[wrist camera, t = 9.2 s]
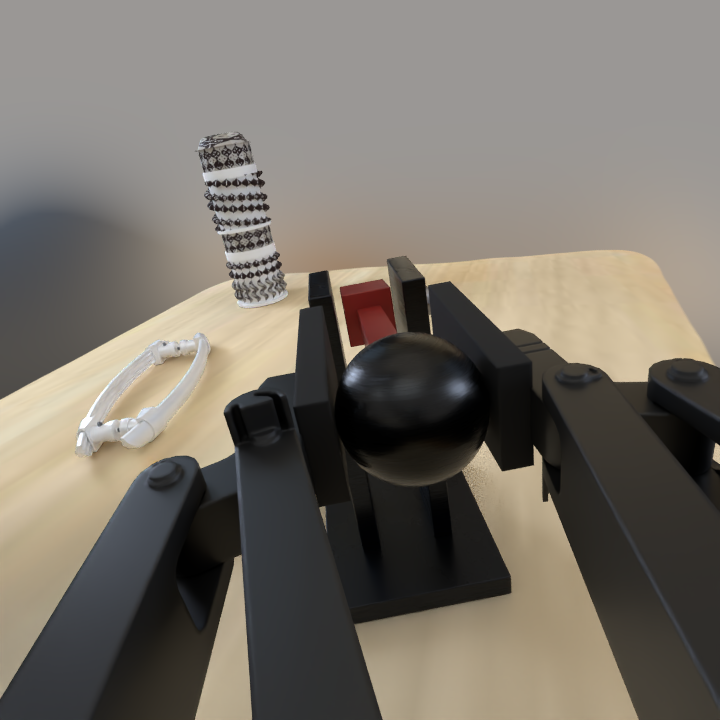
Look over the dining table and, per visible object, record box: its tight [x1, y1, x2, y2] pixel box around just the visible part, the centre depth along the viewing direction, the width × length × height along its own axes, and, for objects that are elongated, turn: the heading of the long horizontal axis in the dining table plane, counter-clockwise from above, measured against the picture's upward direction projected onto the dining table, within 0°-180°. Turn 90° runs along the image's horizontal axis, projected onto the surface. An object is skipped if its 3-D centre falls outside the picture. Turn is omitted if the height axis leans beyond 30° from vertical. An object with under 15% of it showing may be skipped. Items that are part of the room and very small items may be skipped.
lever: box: [335, 279, 490, 487], centre depth 17 cm, size 15×4×4 cm, turn 6°
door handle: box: [75, 333, 210, 457], centre depth 51 cm, size 3×10×25 cm
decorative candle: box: [197, 132, 288, 308], centre depth 74 cm, size 9×9×25 cm
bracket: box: [304, 256, 511, 624], centre depth 25 cm, size 11×9×16 cm
